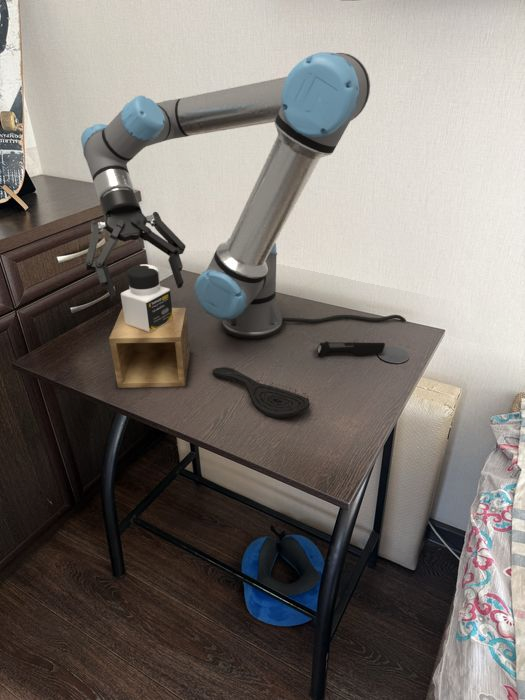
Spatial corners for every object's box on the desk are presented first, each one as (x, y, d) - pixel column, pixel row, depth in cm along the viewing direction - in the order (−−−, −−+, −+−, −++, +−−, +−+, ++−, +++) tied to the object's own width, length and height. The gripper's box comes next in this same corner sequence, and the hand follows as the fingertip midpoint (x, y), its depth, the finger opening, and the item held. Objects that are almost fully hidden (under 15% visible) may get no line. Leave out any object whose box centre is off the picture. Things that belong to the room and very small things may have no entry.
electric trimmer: (384, 358, 115) (386, 347, 113) (317, 358, 115) (318, 346, 113) (381, 350, 118) (383, 338, 117) (316, 349, 118) (317, 338, 116)
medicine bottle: (150, 333, 100) (143, 277, 94) (124, 324, 103) (115, 270, 97) (173, 319, 105) (168, 265, 99) (148, 311, 108) (141, 258, 102)
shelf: (189, 353, 116) (185, 307, 110) (185, 386, 105) (180, 336, 99) (129, 355, 116) (121, 308, 109) (117, 388, 104) (108, 338, 98)
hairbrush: (226, 353, 111) (319, 392, 96) (228, 367, 113) (318, 408, 98) (199, 369, 106) (292, 413, 91) (201, 383, 107) (292, 429, 93)
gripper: (172, 200, 111) (202, 287, 108) (55, 215, 101) (83, 311, 98) (178, 181, 104) (210, 272, 101) (53, 195, 94) (84, 297, 91)
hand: (148, 292), depth 99 cm, fingers open, 13 cm apart
